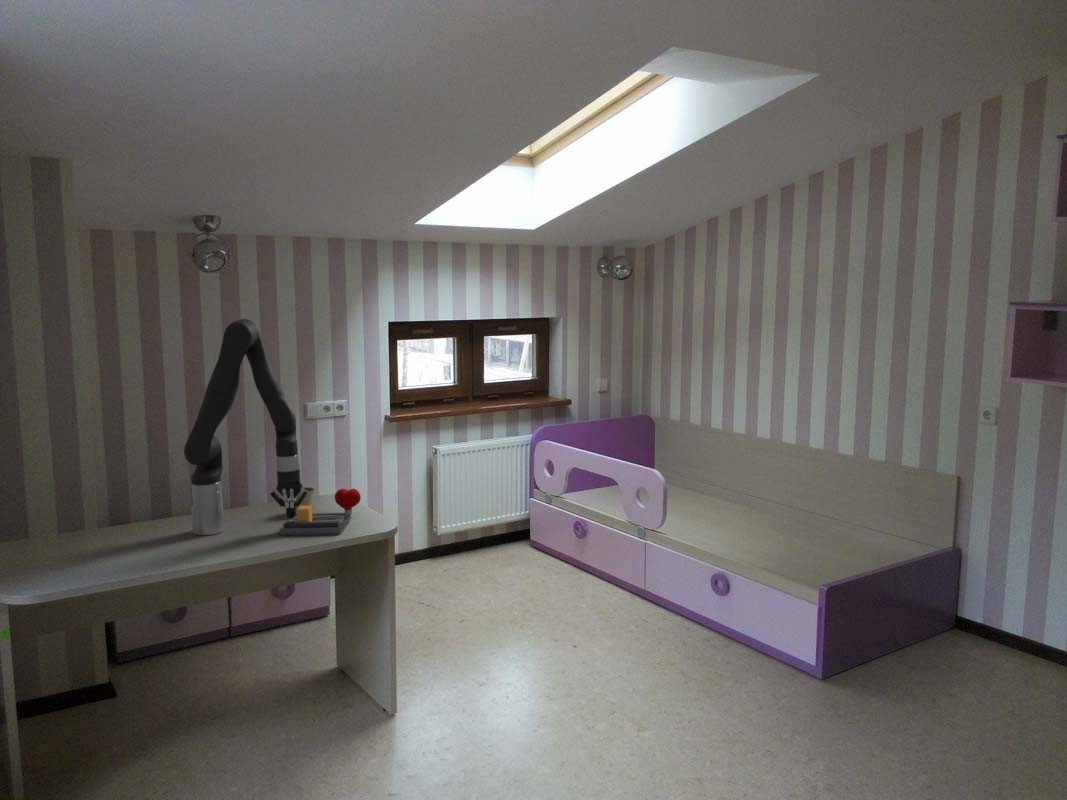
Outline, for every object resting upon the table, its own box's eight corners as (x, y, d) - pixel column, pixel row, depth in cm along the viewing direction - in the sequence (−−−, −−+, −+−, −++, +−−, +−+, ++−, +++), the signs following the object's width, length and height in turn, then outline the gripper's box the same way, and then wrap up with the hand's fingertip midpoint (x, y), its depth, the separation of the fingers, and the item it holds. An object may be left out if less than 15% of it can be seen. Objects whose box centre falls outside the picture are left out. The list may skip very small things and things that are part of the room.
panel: (280, 535, 271) (279, 525, 270) (292, 523, 285) (291, 513, 284) (340, 534, 271) (339, 523, 270) (349, 522, 285) (348, 512, 284)
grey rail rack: (283, 527, 271) (283, 523, 271) (293, 517, 283) (293, 514, 283) (337, 526, 272) (337, 522, 271) (345, 516, 283) (345, 512, 283)
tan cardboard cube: (297, 523, 275) (296, 509, 274) (301, 519, 280) (300, 505, 279) (309, 523, 275) (308, 509, 274) (312, 519, 280) (311, 505, 279)
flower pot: (291, 510, 302) (289, 487, 301) (317, 508, 304) (316, 486, 303) (288, 517, 293) (286, 494, 292) (315, 515, 295) (313, 492, 294)
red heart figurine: (364, 513, 296) (362, 486, 294) (358, 519, 289) (356, 491, 287) (339, 513, 297) (337, 486, 295) (332, 518, 290) (331, 491, 288)
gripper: (264, 471, 271) (268, 521, 273) (304, 470, 271) (308, 520, 273) (271, 466, 278) (275, 515, 281) (310, 465, 279) (313, 514, 281)
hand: (291, 517), depth 277 cm, fingers closed
